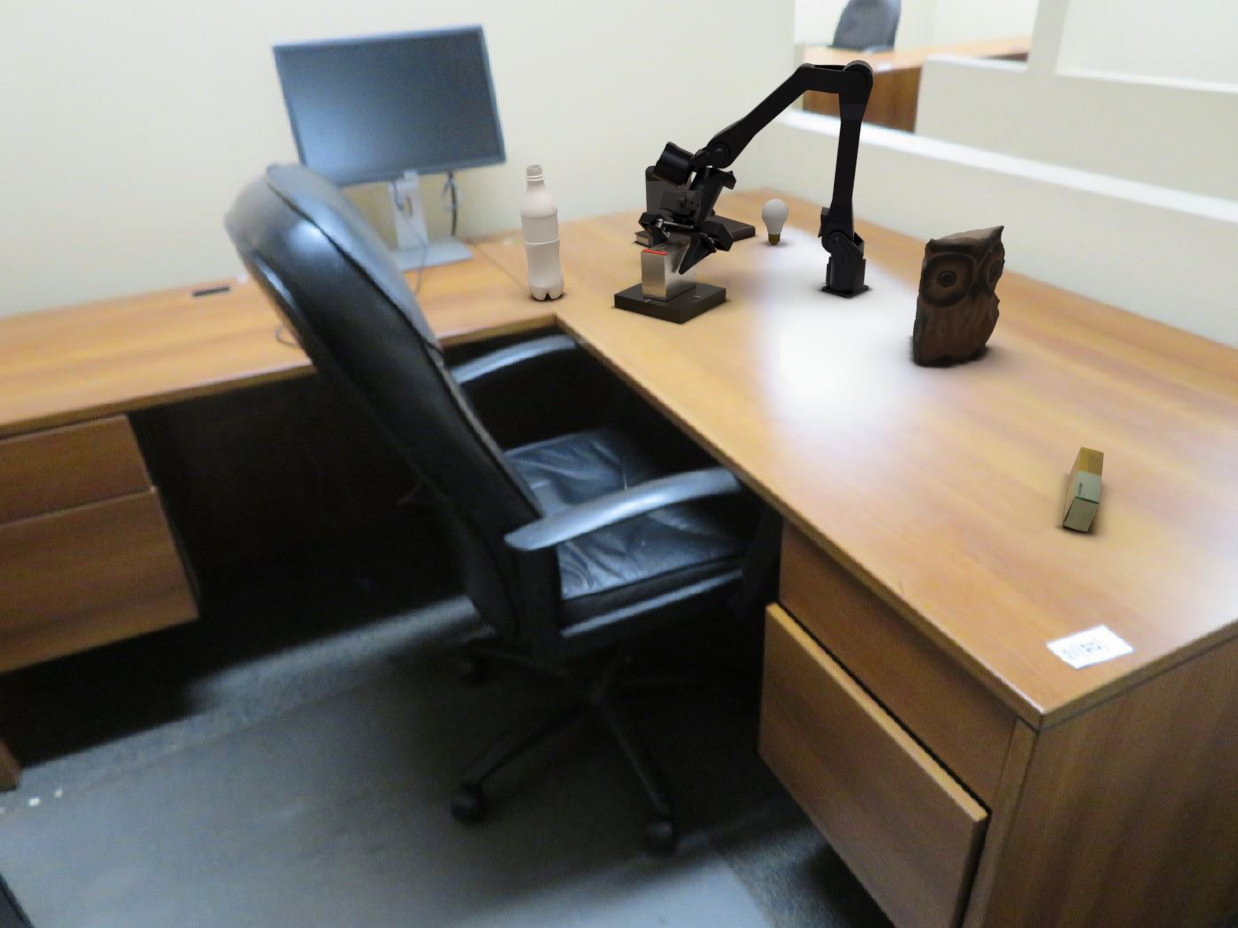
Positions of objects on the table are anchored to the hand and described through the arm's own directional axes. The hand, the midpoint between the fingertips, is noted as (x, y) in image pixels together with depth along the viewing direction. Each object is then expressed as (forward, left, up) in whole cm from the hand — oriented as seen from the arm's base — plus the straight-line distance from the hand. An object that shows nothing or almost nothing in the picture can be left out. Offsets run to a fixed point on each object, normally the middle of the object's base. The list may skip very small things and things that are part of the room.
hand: (665, 270), depth 158 cm
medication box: (-83, +13, -7) cm, 85 cm away
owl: (-48, -15, -7) cm, 51 cm away
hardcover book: (+28, -34, -7) cm, 45 cm away
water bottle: (+23, +12, -7) cm, 26 cm away
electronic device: (+19, -18, -7) cm, 27 cm away
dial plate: (+1, -1, -7) cm, 7 cm away
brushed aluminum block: (+1, -1, -4) cm, 5 cm away
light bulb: (+11, -42, -7) cm, 44 cm away
